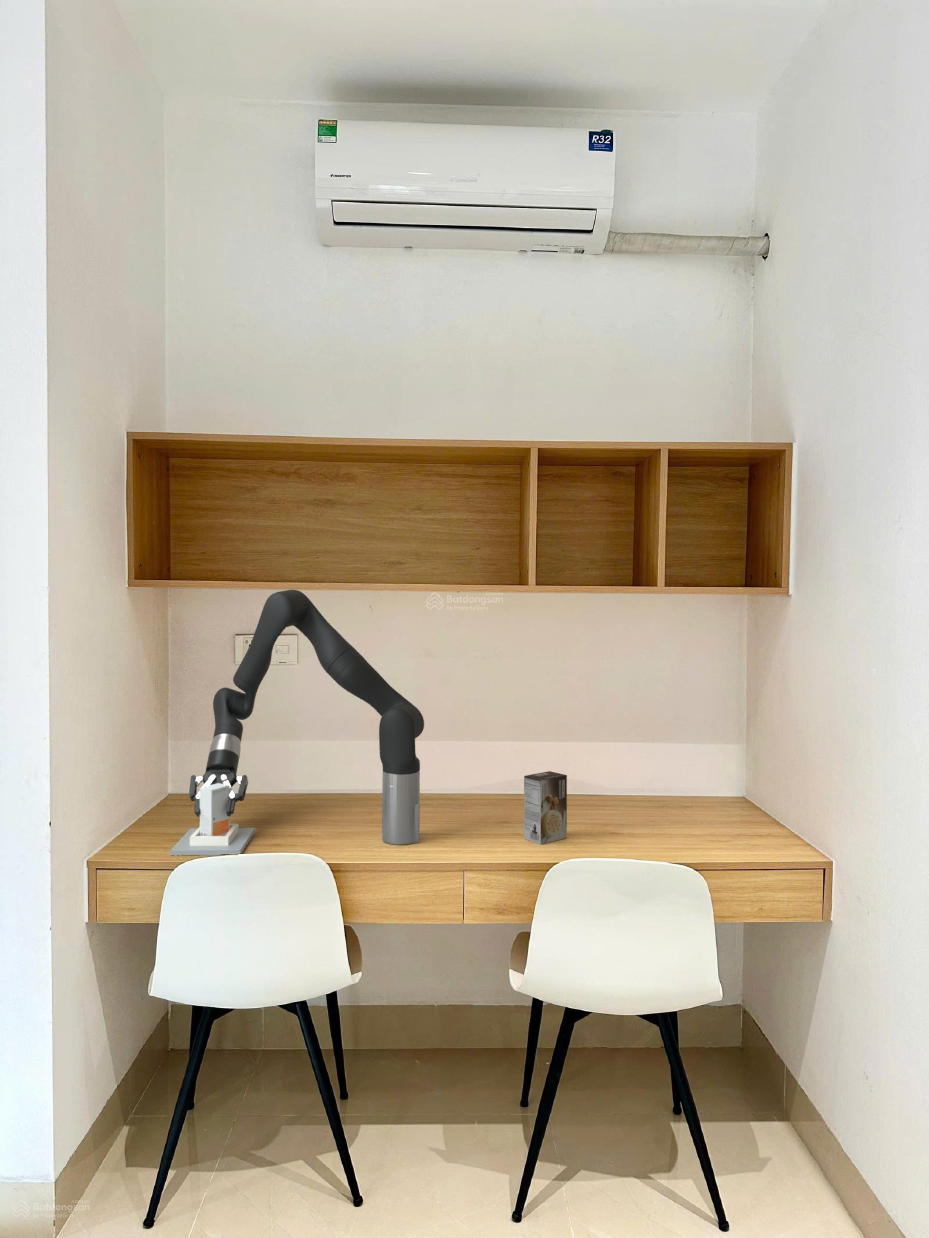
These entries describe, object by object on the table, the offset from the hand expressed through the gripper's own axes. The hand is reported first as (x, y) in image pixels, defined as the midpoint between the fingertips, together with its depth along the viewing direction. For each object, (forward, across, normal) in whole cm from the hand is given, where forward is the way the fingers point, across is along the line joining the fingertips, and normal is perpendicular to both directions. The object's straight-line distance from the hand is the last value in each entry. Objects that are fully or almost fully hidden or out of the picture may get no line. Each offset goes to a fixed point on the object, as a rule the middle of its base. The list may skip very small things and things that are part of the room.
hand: (213, 814), depth 204 cm
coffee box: (+3, +81, +8) cm, 81 cm away
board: (+4, 0, +6) cm, 8 cm away
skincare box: (+3, 0, +5) cm, 6 cm away
